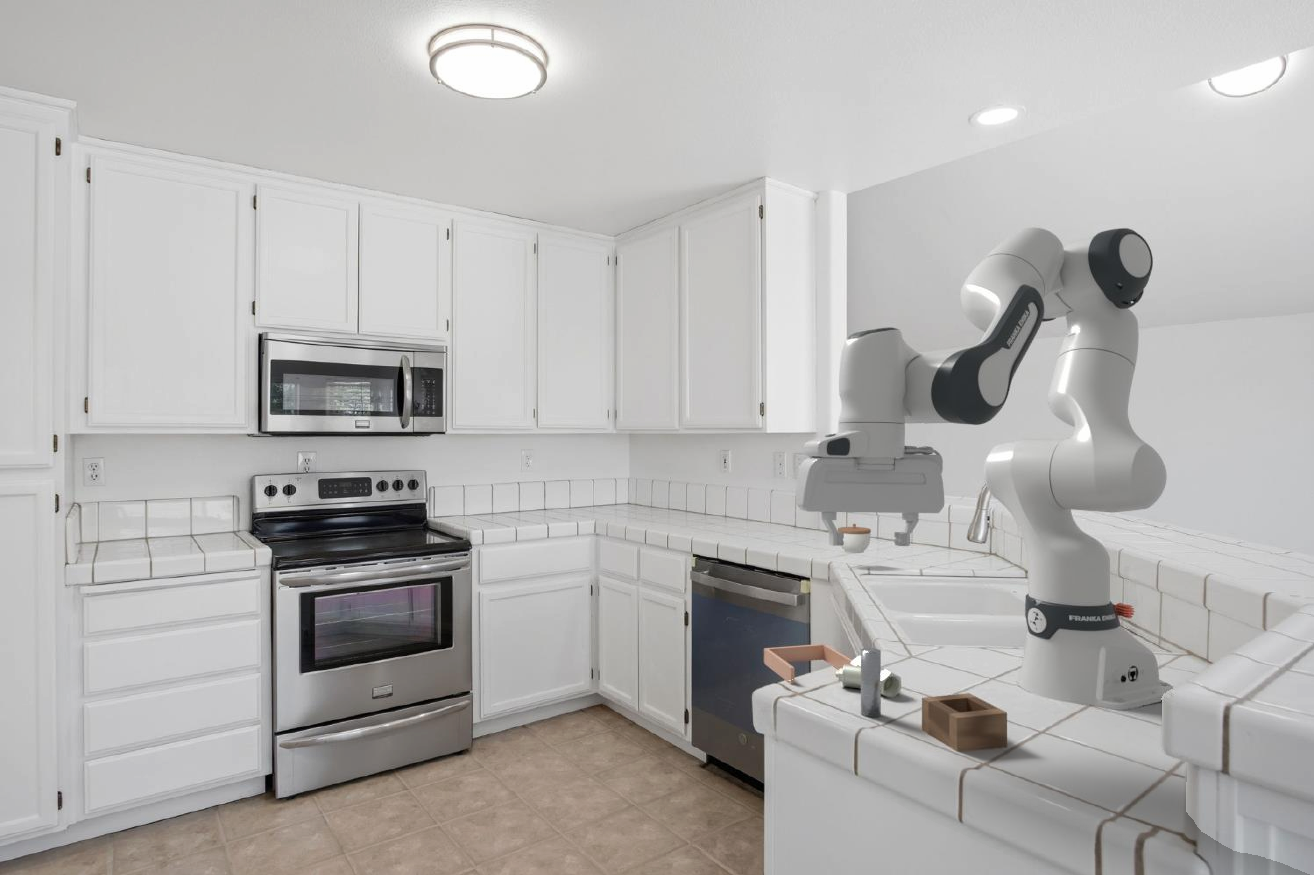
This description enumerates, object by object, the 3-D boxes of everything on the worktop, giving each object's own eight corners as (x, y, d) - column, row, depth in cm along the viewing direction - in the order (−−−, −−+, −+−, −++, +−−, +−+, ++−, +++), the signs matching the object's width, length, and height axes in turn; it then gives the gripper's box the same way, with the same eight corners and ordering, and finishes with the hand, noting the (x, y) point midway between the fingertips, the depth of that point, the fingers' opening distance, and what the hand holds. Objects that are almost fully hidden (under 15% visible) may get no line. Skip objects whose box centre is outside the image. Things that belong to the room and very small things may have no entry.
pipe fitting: (831, 660, 112) (868, 653, 114) (831, 684, 112) (868, 677, 114) (862, 678, 104) (901, 671, 106) (862, 705, 104) (901, 696, 107)
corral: (824, 658, 125) (824, 643, 125) (856, 678, 114) (856, 662, 114) (763, 663, 122) (763, 648, 122) (790, 684, 112) (790, 668, 112)
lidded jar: (850, 548, 251) (850, 521, 251) (877, 552, 243) (877, 524, 243) (831, 551, 244) (831, 523, 244) (858, 555, 236) (858, 526, 236)
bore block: (969, 727, 95) (969, 693, 95) (1007, 749, 88) (1007, 712, 88) (921, 732, 93) (921, 697, 93) (956, 755, 86) (956, 718, 86)
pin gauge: (874, 712, 100) (874, 647, 100) (884, 719, 98) (884, 652, 98) (857, 714, 99) (857, 648, 99) (867, 721, 97) (867, 654, 97)
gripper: (931, 446, 104) (929, 543, 104) (793, 443, 102) (791, 542, 101) (954, 446, 98) (952, 549, 98) (807, 443, 95) (805, 548, 95)
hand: (869, 545), depth 99 cm, fingers open, 8 cm apart
